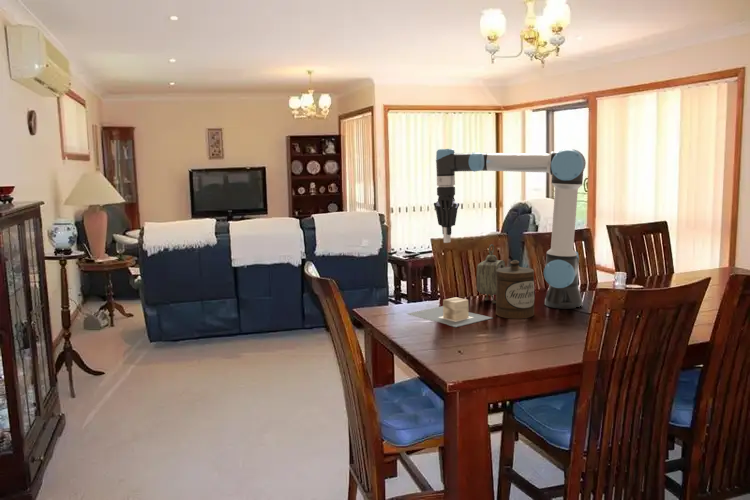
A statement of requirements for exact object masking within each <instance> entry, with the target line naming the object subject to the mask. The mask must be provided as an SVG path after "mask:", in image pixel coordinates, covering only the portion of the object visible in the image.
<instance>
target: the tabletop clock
mask: <svg viewBox="0 0 750 500" xmlns="http://www.w3.org/2000/svg"><path fill="white" fill-rule="evenodd" d="M491 248H492V250H491ZM494 251H495V246H494V244H492V243H491V244H489V247H488V253H489V254H488V255H486V257H485V260H483V261H481V262H480V263H477V266H476V290H477V291H476V292H478V293H479V294H482V295H486V296H485V297H484V300H485V301H488V300H489V295H490V297H491V299H492V300H491V303H492V304H496V299H494V295H495V296H496V271H497V269H499V268H504V267H506V262H505V260H498V258H497V256H496V254H495V255H494Z"/></svg>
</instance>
